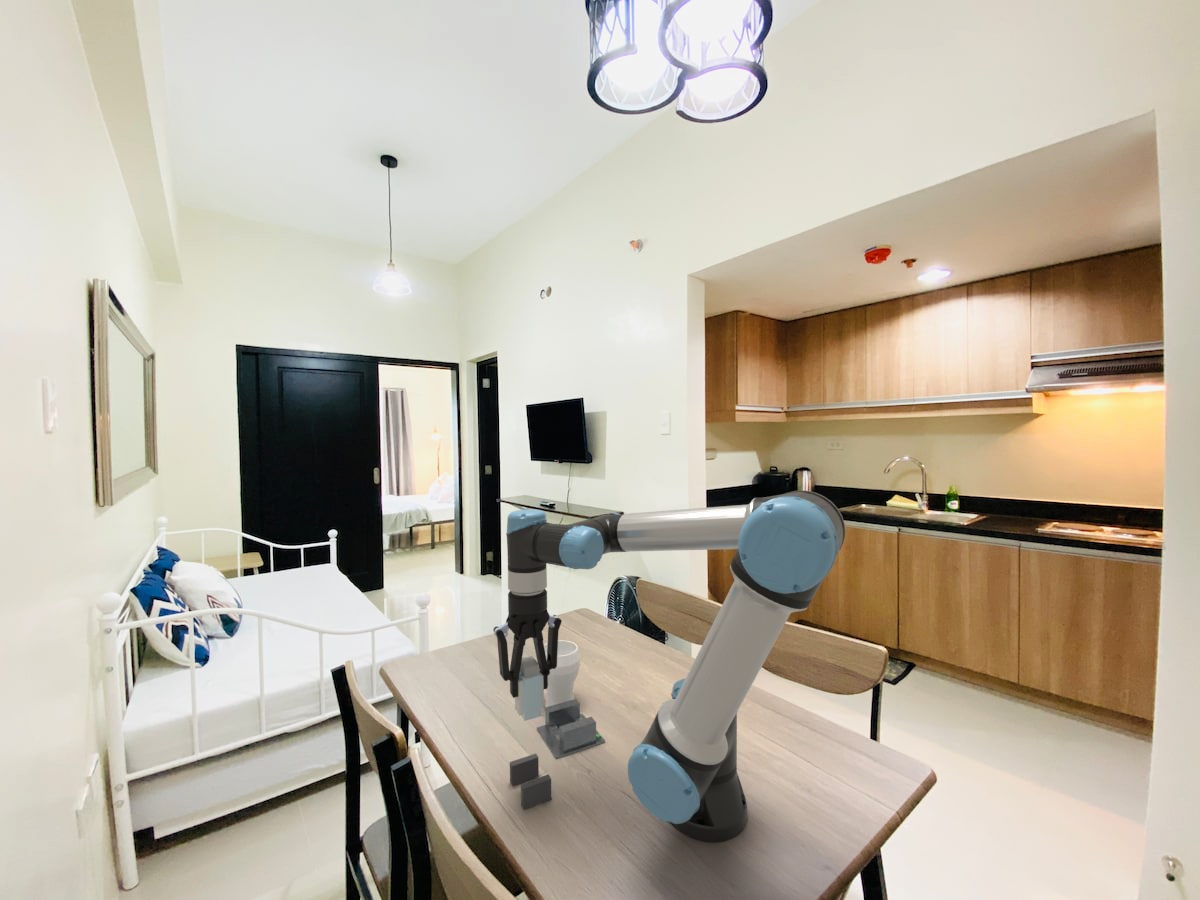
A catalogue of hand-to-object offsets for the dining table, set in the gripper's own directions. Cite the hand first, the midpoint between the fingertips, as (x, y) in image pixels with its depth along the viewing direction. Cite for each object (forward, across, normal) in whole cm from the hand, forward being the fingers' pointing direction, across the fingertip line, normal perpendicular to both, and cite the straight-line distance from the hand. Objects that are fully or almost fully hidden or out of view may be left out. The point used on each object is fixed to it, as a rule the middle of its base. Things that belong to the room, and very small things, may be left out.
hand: (529, 708), depth 94 cm
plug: (+1, 0, 0) cm, 1 cm away
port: (+16, -14, -12) cm, 25 cm away
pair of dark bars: (+16, 0, 0) cm, 16 cm away
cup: (+16, -17, -25) cm, 34 cm away
